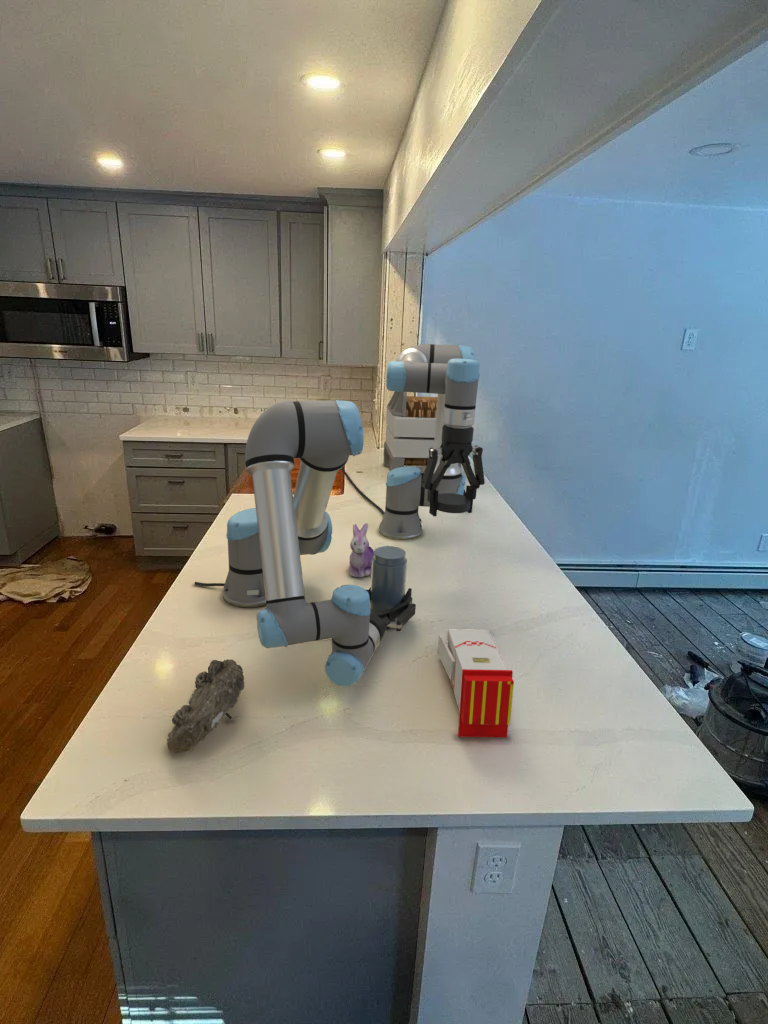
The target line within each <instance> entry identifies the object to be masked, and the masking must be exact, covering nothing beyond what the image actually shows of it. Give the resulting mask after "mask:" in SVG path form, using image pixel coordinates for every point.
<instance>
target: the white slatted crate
mask: <svg viewBox="0 0 768 1024" xmlns="http://www.w3.org/2000/svg"><path fill="white" fill-rule="evenodd" d="M407 394H408V392H396V391H393V394H392V395H391V398H390V400H389V402H388V404H387V405H386V413H385V414H386V415H385V423H386V428H385V438H384V442H383V466H384V467H388V468H389V472H390V471H391V470H393V469H395V468H399V467H405V466H406V467H407V466H412V467H417V466H418V467H426V466H427V462H428V459H429V449H430V448H433V449H434V438H435V425H436V412H437V398H438V396H415V395H414V396H413V395H412V396H411V395H407ZM458 466H459V468H460V469H461V470H462V464H461V463H458Z"/></svg>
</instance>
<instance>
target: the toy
mask: <svg viewBox="0 0 768 1024" xmlns="http://www.w3.org/2000/svg"><path fill="white" fill-rule="evenodd" d="M446 640H447V643H446V641H445V639H444V636H443V635H442V634H439V637H438V646H437V656H438V657H439V659H440V661H441V663H442V666H443V668H444V670H445V672H446V674H447V677H448V679H449V681H450V684H451V687H452V690H453V693H454V697H455V701H456V705H457V708H458V711H459V714H458V715H459V716H458V730H457V731H458V732H457V737H458V738H508V731H509V726H510V725H511V717H512V707H513V697H514V696H513V695H514V684H515V680H514V679H513V673H514V671H513V670H512V669H508V667H507V665H506V662H505V661H504V659H503V658H502V655H501V653H500V651H499V649H498V647H497V643H496V639H495V637H494V635H493V634H491V632H490V631H489V629H467V628H466V629H465V628H463V629H461V628H460V629H459V628H448V630H447V639H446Z"/></svg>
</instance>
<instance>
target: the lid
mask: <svg viewBox="0 0 768 1024" xmlns="http://www.w3.org/2000/svg"><path fill="white" fill-rule="evenodd" d="M470 502H471V500H470V499H469V498H468V497H466V496H463V495H459V494H453V493H443V494H438V505H437V511H439V512H441V513H447V514H463V513H468V512H467V511H469V510H470Z"/></svg>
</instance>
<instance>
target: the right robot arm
mask: <svg viewBox="0 0 768 1024" xmlns="http://www.w3.org/2000/svg"><path fill="white" fill-rule="evenodd" d="M480 375H481V374H480V361H478V360H477V359H476V356H475V351H474V349H473V347H471V346H467V345H460V344H436V343H435V344H434V343H433V344H432V343H421V344H420V343H419V344H416V345H413V346H409V347H406V348H405V349H404V350H402V351H400V353H399V354H398V356H397V358H396V360H391V361H388V363H387V366H386V377H385V378H386V381H385V382H386V389H387V390H388V391H389V392H395V391H396V392H406V393H417V394H421V393H422V394H435V395H437V397H438V398H437V412H436V425H435V438H434V449H433V448H430V449H429V459H428V462H427V466H425V469H424V472H422V469H421V468H420V467H419V466H418V467H417V466H407V465H406V466H404V467H399V468H395V469H393V470H391V471H390V470H389V471H388V473H387V475H386V482H385V487H386V488H385V489H386V490H385V504H384V505H385V507H384V508H385V509H384V510H383V509H382V507H380V506H379V505H378V504H377V503H375V502H374V501H373V500H371V498H369V497H368V496H367V495H366V494H365V493H364V492H363V491H362V490H361V489H360V488H359V487H358V486H357V485H356V483H355V482H354V481H353V480H352V478H351V477H350V476H349V474H348V473H347V472H346V471H345V469H344V467H342V468H341V469H340V470H341V472H342V473H343V474H344V475H345V477H346V478H347V479H348V481H349V482H350V484H351V485H352V486H353V487H354V489H355V490H356V491H357V492H358V493H359V494H360V495H361V496H362V497H363V498H364V499H365V500H367V502H369V504H371V506H373V507H375V509H377V510H378V511H379V512H380V513H381V514H382V519H381V522H379V526H378V533H379V534H380V535H381V536H382V537H385V538H387V539H389V540H395V541H410V540H415V539H418V538H420V537H421V536H422V535H423V525H422V524H421V523H422V518H420V515H419V507H425V508H429V511H428V513H429V514H430V515H431V516H432V517H437V515H438V510H437V505H438V494H443V493H453V494H459V495H463V493H464V489H465V492H466V495H465V496H466V497H468V498H469V499H470V500H471V502H470V510H469V511H467V512H466V513H468V514H472V513H473V507H474V500H476V498H477V493H478V489H480V486H483V485H485V483H486V482H485V475H484V466H483V465H484V464H483V457H482V456H483V451H484V449H483V447H481V446H479V445H473V444H472V442H473V440H474V431H475V428H474V427H473V426H474V425H475V418H476V407H477V396H478V388H479V379H480ZM471 454H472V462H473V463H471V460H470V458H469V456H470V455H471ZM458 463H461V469H460V468H459V466H458ZM471 464H473V468H472V466H471ZM473 470H474V471H473ZM462 472H464V474H465V475H464V474H462ZM466 479H467V482H468V484H469V485H466Z"/></svg>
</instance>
